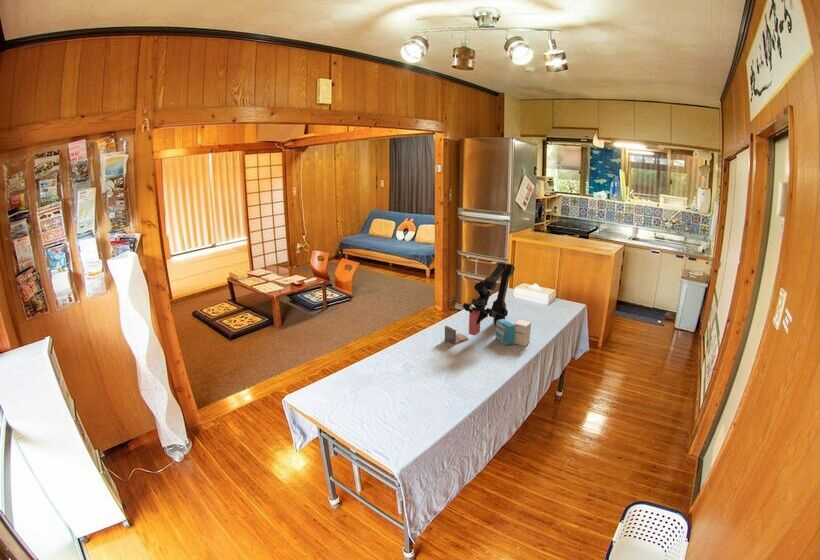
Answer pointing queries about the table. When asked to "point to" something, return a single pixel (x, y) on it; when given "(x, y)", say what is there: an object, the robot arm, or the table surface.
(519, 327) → the supplement box
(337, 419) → the table surface
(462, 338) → the tan flat rectangular slab
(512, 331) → the data package
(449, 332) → the metal bookend
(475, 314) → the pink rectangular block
